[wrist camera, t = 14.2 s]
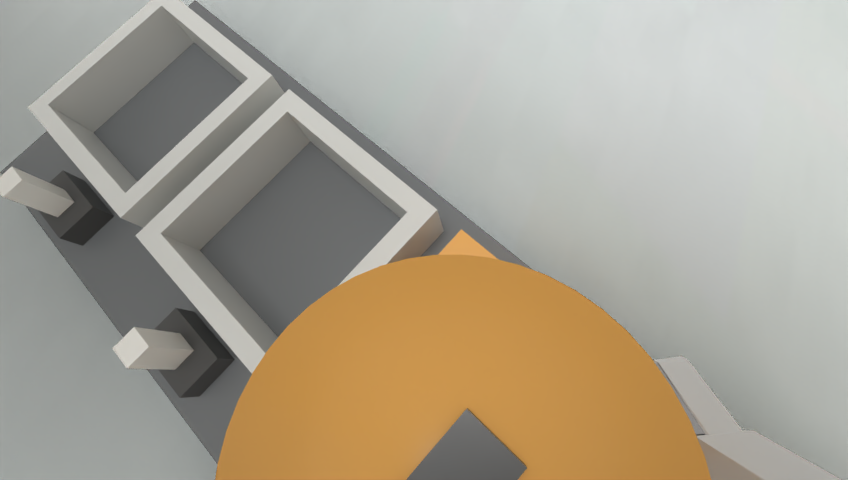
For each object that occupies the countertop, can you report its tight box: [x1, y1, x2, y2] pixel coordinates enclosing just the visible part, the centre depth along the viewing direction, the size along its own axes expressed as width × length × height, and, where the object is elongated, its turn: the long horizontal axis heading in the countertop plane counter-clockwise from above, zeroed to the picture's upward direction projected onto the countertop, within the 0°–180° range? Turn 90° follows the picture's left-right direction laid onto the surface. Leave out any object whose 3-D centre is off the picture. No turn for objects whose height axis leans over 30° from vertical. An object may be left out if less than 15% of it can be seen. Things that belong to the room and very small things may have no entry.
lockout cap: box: [215, 255, 711, 480], centre depth 9 cm, size 5×5×9 cm
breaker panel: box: [0, 0, 531, 464], centre depth 18 cm, size 32×14×5 cm, turn 47°
